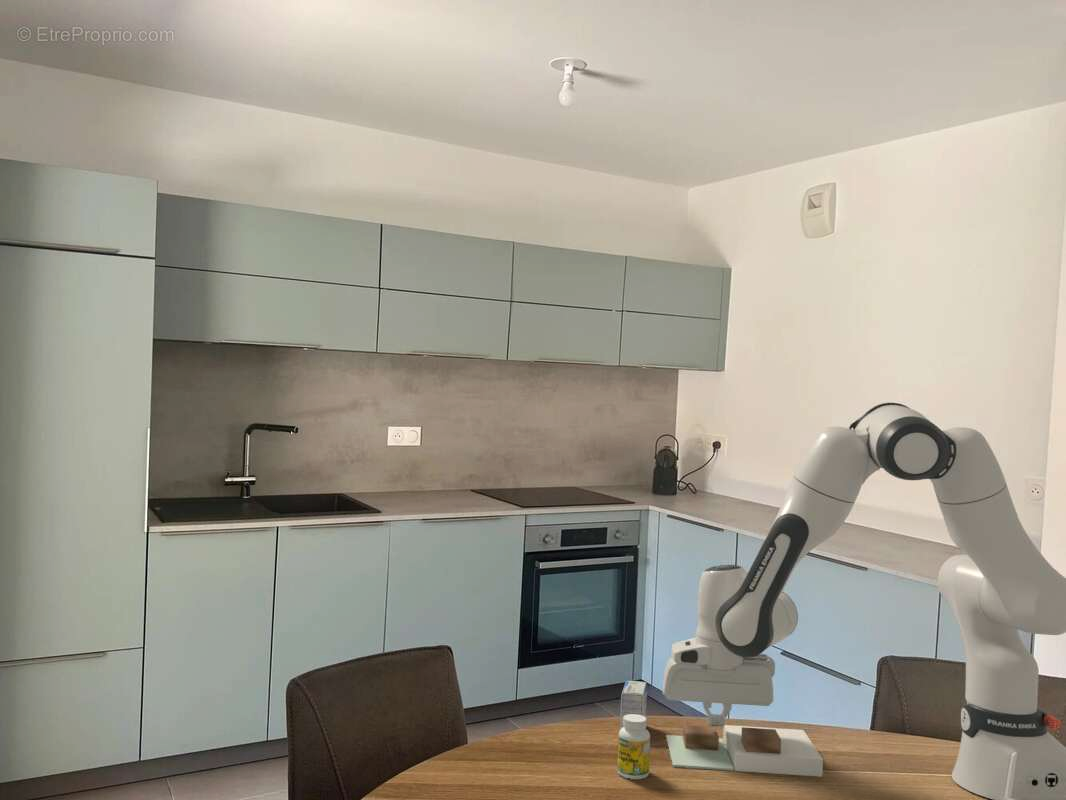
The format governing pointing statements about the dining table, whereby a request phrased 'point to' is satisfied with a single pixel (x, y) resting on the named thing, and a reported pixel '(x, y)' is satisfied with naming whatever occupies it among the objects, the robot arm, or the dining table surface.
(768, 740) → the near tile
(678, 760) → the mat
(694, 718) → the dining table surface
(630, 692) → the medicine box
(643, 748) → the supplement bottle
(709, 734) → the far tile
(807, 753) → the white flat block
